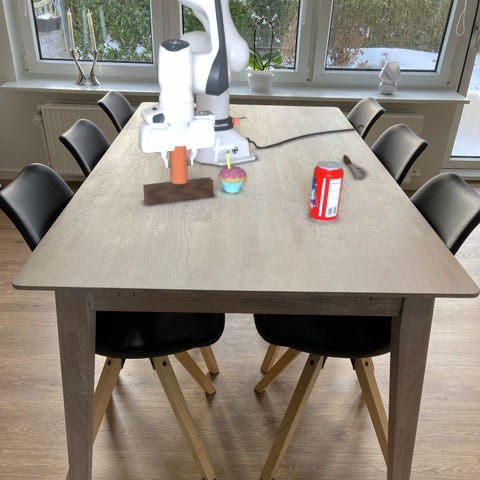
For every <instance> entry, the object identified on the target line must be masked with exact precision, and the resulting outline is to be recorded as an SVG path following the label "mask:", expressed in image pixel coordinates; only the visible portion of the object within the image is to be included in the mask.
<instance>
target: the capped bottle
mask: <svg viewBox="0 0 480 480" xmlns="http://www.w3.org/2000/svg"><path fill="white" fill-rule="evenodd" d="M168 155H169V156H168V158H169V159H168V160H170V161H171V168H169V182H171V183H174V184H184V183H187V182H188V180H189V171H188V169H189V166H188V159H187V158H188V150H187V149H186V145H185V146H175V147H174V151H168Z"/></svg>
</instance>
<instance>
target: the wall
mask: <svg viewBox="0 0 480 480" xmlns="http://www.w3.org/2000/svg"><path fill="white" fill-rule="evenodd" d="M142 186H143V201H144V203H145V204H146V206H154V205H161V204H169V203H177V202H186V201H193V200H199V199H207V198H208V199H209V198H214V179H213V178H211V177H209V176H208V177H199V178H190V179H189V178H188V182H187V183H184V184H174V183H171V182H170V181H165V182H155V183H146V184H143V185H142Z"/></svg>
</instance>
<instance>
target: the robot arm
mask: <svg viewBox="0 0 480 480" xmlns="http://www.w3.org/2000/svg"><path fill="white" fill-rule="evenodd" d="M176 1H177V2H178V3H179V4H181V5H183V6H185V7H187V8H189V9H191V11H192V13H193V16H194V17H195V18H197V19H198V21H200V23H201V24H202V27H203V28H204V31H203V30H194V31H188V32H185V33H183V34H182V35H181V36H180V37H179V38H170V39H166V40H163V41H162V42H161V43H160V44H159V48H158V58H157V59H158V61H157V63H156V78H157V79H156V81H157V83H158V85H159V95H158V103H156V104H154V105H152V106H150V107H147V108H144V109H142V110H141V112H140V115H141V118H142V121H141V122H140V123H139V127H138V129H139V130H138V147H139V150H141V151H142V152H143V153H144V154H154V153H159V156H160V157H161V159H162V160H163V166H164V168H165V169H170V168H171V161H170V160H169V159H167V157H166V156H168V154H167V153H168V152H169V151H174V147H175V146H185V145H186V149H187V151H188V150H189V152H190V153H189V155H188V157H187V159H188V167H190V166H191V167H192V166H194V161H196V162H198V163H202V164H208V165H215V166H219V167H226V166H228V163H227V155H226V154H227V153H228V154H229V161H230V165H235V164H239V163H240V164H241V163H245V162H252V161H255V160H256V159H257V157H256V154H255V152H253V151H252V150H251V149H250V148H251V147H250V143H251V144H253V146H254V147H255V148H256V149H258V150H264V149H269V148H272V147H275V146H279V145H282V144H285V143H288V142H291V141H295V140H298V139H302V138H305V137H311V136H315V135H316V136H317V135H324V134H331V133H340V132H341V133H342V132H351V131H357V130H358V129H360V128H365V127H364V125H363V124H359V125H358V126H357V127H353V128H345V129H344V128H343V129H336V130H327V131H318V132H312V133H308V134H303V135H298V136H295V137H291V138H288V139H284V140H283V141H279V142H276V143H272V144H269V145H267V146H259V145H257V143H256V142H255V141H254V140H251V138H250V137H247V136H245V135H244V134H243V133H242V132H240V131H239V130H238V129H236V128H235V126H239V124H240V119H236V118H237V117H232V116H231V115H230V111H229V110H230V92H229V88H230V86H231V82H232V74H233V75H234V74H241V73H243V72H244V71H245V70H246V68H247V67H248V65H249V63H250V57H251V52H250V51H251V50H250V48H249V45H248V42H247V41H246V40H245V39H244V38H243V37H242V36H241V34H240V33H239V31H238V30H237V28H236V25H235V23H234V21H233V19H232V14H231V12H230V5H229V0H176ZM194 94H195V97H194ZM195 107H196V111H194V108H195Z"/></svg>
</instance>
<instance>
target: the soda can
mask: <svg viewBox="0 0 480 480" xmlns="http://www.w3.org/2000/svg"><path fill="white" fill-rule="evenodd" d="M344 176H345V170H344V169H343V164H342V163H340V162H339V161H335V160H320V161H317V163H316V166H315V167H314V168H313V172H312V181H311V191H310V200H309V208H308V216H309V217H310V218H311V219H313V220H314V221H316V222H318V223H319V222H320V223H330V222H333V221H335V220H336V219H337V218H338V215H339V210H340V201H341V197H342V196H341V195H342V188H343V182H344Z"/></svg>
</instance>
